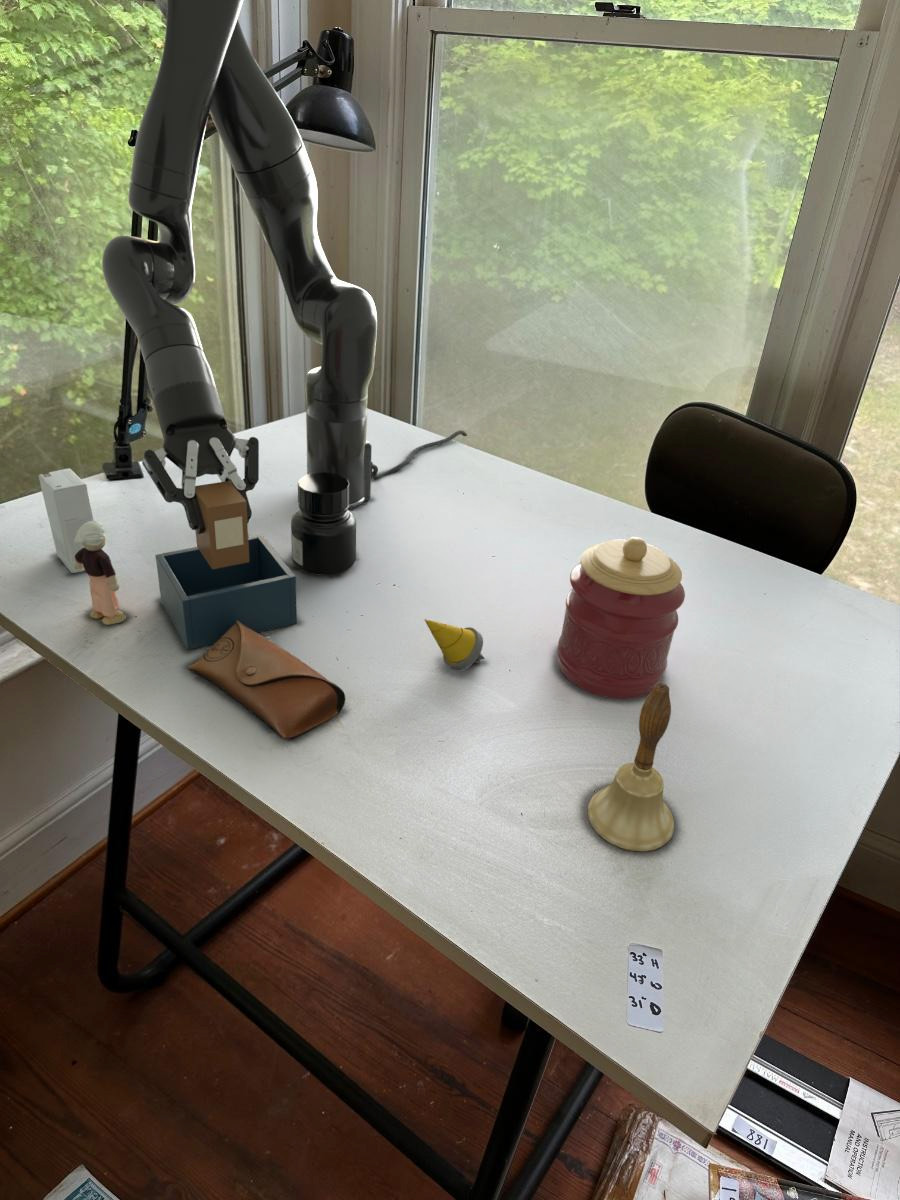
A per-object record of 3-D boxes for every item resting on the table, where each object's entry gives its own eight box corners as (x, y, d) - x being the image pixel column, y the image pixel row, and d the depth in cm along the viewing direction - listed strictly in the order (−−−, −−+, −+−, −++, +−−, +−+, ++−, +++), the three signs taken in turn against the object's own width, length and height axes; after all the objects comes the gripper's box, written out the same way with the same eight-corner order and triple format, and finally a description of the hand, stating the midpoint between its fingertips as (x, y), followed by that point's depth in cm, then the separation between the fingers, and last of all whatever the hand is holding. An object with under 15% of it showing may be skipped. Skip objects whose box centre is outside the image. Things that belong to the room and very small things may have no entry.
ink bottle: (306, 540, 123) (304, 464, 117) (364, 550, 122) (366, 473, 116) (281, 572, 115) (278, 492, 109) (343, 583, 114) (344, 503, 108)
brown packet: (232, 540, 105) (229, 480, 101) (249, 562, 101) (246, 501, 96) (196, 546, 103) (191, 486, 99) (212, 570, 99) (207, 508, 94)
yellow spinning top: (485, 685, 98) (427, 642, 93) (457, 679, 103) (400, 637, 97) (505, 645, 100) (449, 600, 95) (476, 641, 104) (422, 598, 99)
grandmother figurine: (141, 616, 104) (127, 524, 97) (118, 631, 101) (103, 537, 94) (93, 598, 107) (76, 507, 100) (69, 612, 104) (51, 520, 97)
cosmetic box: (104, 566, 113) (90, 483, 107) (69, 575, 111) (53, 491, 104) (87, 547, 117) (73, 466, 111) (53, 555, 115) (37, 473, 108)
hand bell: (576, 832, 80) (605, 700, 71) (599, 777, 86) (629, 649, 78) (664, 864, 77) (705, 731, 69) (681, 805, 84) (720, 676, 75)
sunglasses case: (180, 666, 95) (201, 612, 95) (226, 669, 101) (246, 618, 101) (287, 743, 86) (312, 684, 86) (330, 740, 92) (354, 685, 92)
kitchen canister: (536, 646, 105) (556, 519, 96) (624, 629, 110) (651, 506, 100) (591, 711, 95) (619, 576, 86) (685, 689, 100) (722, 559, 90)
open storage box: (264, 579, 114) (261, 534, 110) (297, 623, 105) (296, 576, 102) (161, 601, 107) (155, 554, 104) (187, 650, 99) (182, 601, 95)
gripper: (125, 385, 94) (165, 528, 92) (249, 373, 101) (289, 507, 99) (120, 414, 101) (157, 549, 99) (237, 402, 108) (274, 527, 106)
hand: (223, 527), depth 99 cm, fingers closed on brown packet, 4 cm apart
